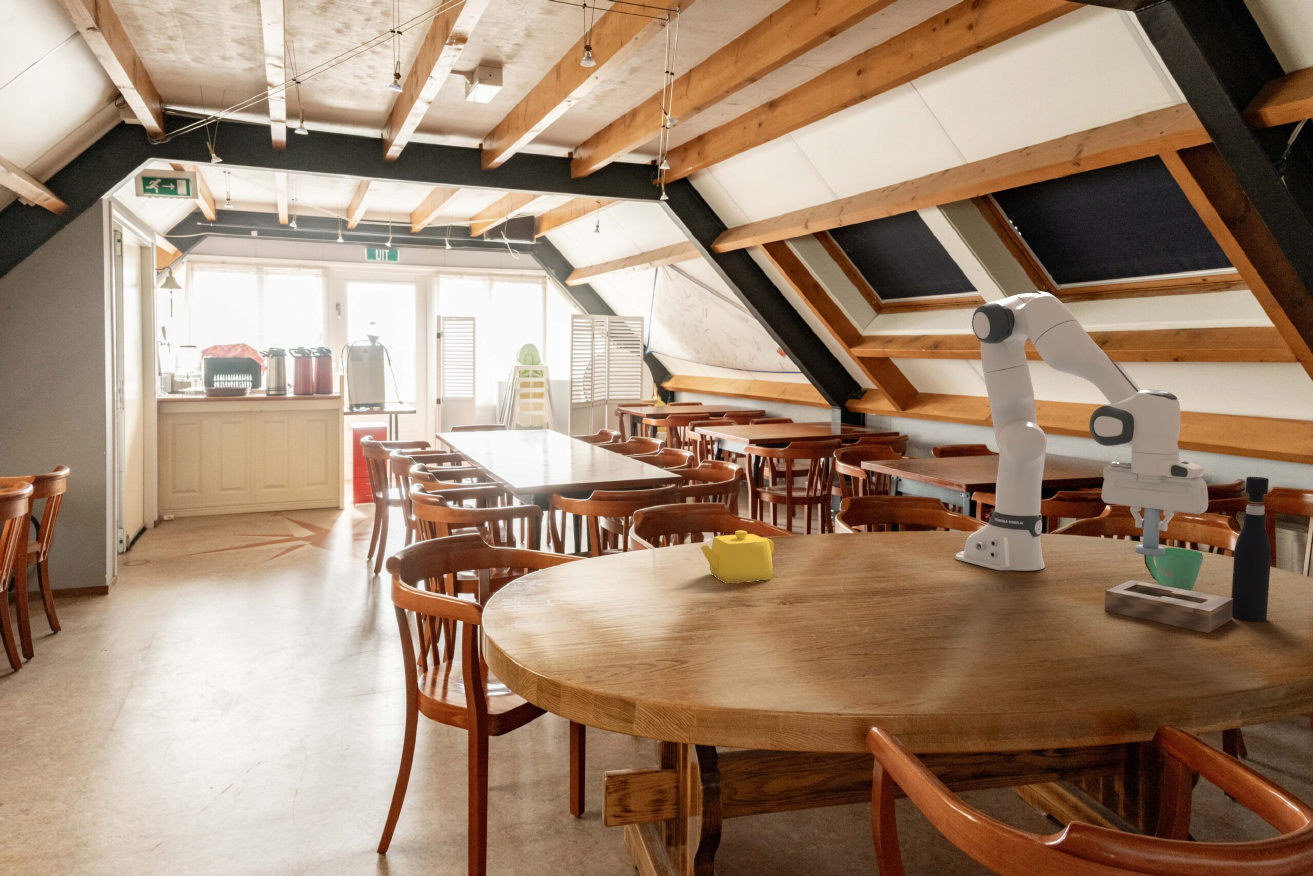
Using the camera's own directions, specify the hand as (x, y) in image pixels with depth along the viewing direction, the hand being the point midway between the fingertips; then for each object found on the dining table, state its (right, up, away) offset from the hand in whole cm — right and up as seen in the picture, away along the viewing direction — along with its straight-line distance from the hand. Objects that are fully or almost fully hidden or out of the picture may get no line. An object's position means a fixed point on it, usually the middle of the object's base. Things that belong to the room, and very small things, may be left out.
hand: (1151, 528), depth 184 cm
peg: (0, -5, +1) cm, 5 cm away
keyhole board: (+3, -18, -1) cm, 19 cm away
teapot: (-87, -16, +30) cm, 93 cm away
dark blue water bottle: (+19, -19, -3) cm, 27 cm away
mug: (+14, -17, +18) cm, 28 cm away
